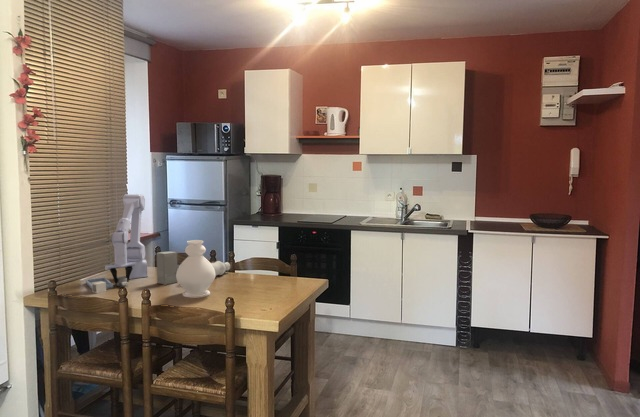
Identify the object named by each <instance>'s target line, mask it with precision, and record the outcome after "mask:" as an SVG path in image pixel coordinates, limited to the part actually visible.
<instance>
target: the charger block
mask: <svg viewBox="0 0 640 417" xmlns="http://www.w3.org/2000/svg"><path fill="white" fill-rule="evenodd" d="M91 292H92V293H95V294H101V293H105V292H107V289H106V282H103V281H98V282H93V283H92V289H91Z"/></svg>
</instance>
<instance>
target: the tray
mask: <svg viewBox="0 0 640 417" xmlns="http://www.w3.org/2000/svg"><path fill="white" fill-rule="evenodd" d="M98 281H103V282H106V290H107V289H109V290H110V289H113V288H114V283H112V282H111V281H110V280H109V279H108V278H106V277H99V278H89V279H85V284H86V285H87V286H88V287H89V288H90V289H91V290H92V283H93V282H98Z"/></svg>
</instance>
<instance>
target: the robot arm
mask: <svg viewBox="0 0 640 417" xmlns="http://www.w3.org/2000/svg"><path fill="white" fill-rule="evenodd" d="M122 204H123V207H124V208H123V213H122V216H121V218H120V219H119V220H118V223H117V225H116V228H115V231H114V232H112V233H111V242H112V246H113V251H114V263H113V264H106V265H104V269H105V271H108V270H109V271H110V273H111V276H112V278H113V280H114V281H113V282H114V284H116V283H117V277H118V270H117V269H123V268H124V270H125V277H127V283H128V282H130V281H129V280H130V279H131V280H132V279H140V278H141V279H142V278H146V277H149V275H148V262H147V259H145V258H146V253H147V252H146V246H145V245H144V244H143V243H142V242H141V228H142V213H143V211H145V206H146V198H145V196H144V194H143V193H141V194H137V193H136V194H129V193H125V194H124V195H123V197H122ZM130 219H131V220H130ZM129 230H130V232H129ZM129 233H130V235H129ZM129 236H130V239H129ZM128 241H129V242H128Z"/></svg>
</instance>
